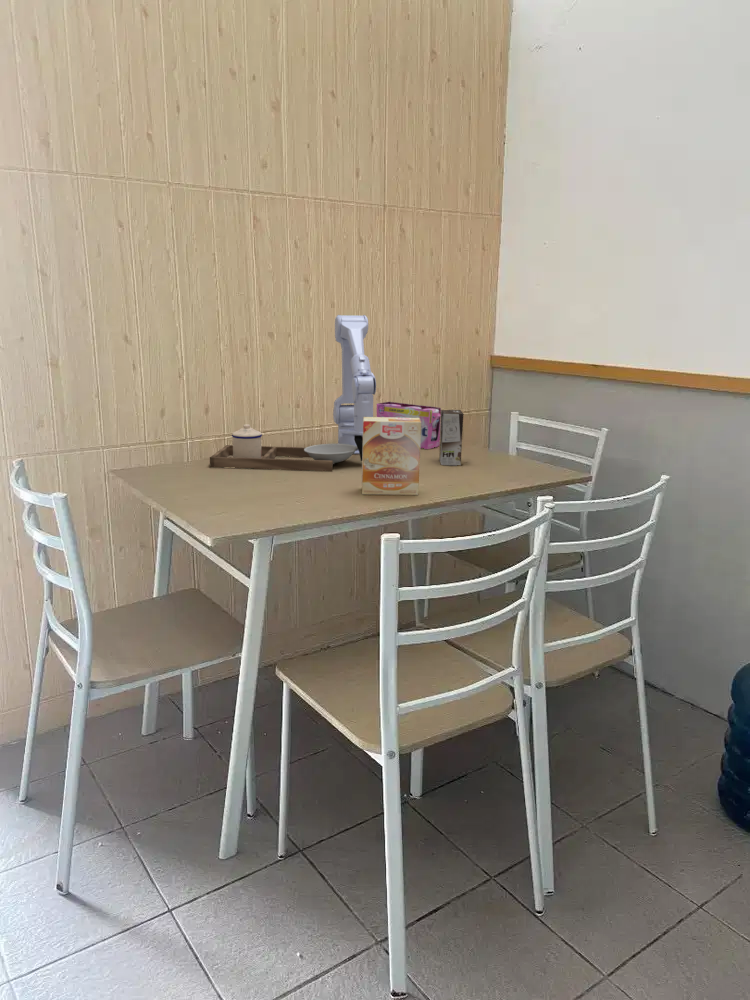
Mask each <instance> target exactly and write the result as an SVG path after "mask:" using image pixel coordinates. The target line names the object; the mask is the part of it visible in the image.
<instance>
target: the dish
mask: <svg viewBox="0 0 750 1000" xmlns="http://www.w3.org/2000/svg"><path fill="white" fill-rule="evenodd" d="M304 448H305V449H304V451H305V452H307V453H308V454H309V455H310V456H311V457H312V458H311V459H312V460H329V461H333V464H334V465H335V464H336V463H337V464H338V463H341V462H344V461H346V460H348V459H349V458H351V457H352V455H354V454H353V453H354V452H355V451H356V450H358V447H357V446H355V445H350V444H338V443H323V444H322V443H321V444H315V445H310V446H309V445H308V446H307V447H304Z"/></svg>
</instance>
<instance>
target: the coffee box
mask: <svg viewBox="0 0 750 1000" xmlns="http://www.w3.org/2000/svg"><path fill="white" fill-rule="evenodd" d="M463 426H464V413H463V411H462V410H461V409H441V417H440V445H439V453H438V454H439V457H438V459H439V463H440V465H441V466H457V465H460V466H461V464H462V463H461V462H462V449H463V445H462V444H463V433H464V432H463V431H464V427H463Z"/></svg>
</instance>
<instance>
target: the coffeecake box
mask: <svg viewBox="0 0 750 1000" xmlns="http://www.w3.org/2000/svg"><path fill="white" fill-rule="evenodd" d="M420 444H421V421H420V419H419V418H394V417H377V416H373V417H363V452H362V461H361V495H379V496H380V495H383V496H385V495H387V496H388V495H390V496H393V495H394V496H419V492H420V491H419V489H420V468H421V466H420V465H421V464H420V463H421V448H420Z"/></svg>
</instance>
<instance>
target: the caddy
mask: <svg viewBox="0 0 750 1000" xmlns="http://www.w3.org/2000/svg"><path fill="white" fill-rule="evenodd" d="M305 448H306V447H304V446H303V447H301V446H300V447H299V446H294V447H293V446H270V445H269V446H265V445H262V458H234V457H233V444H228V445H227V444H226V445H224V446H223V447H222V448H221V449H219V450H218V451H217V452H215V453H214V454H212V455H211V456H210V457H209V468H210V467H235V468H234V469H241V468H254V469H253V470H272V469H281V470H280V471H302V470H315V471H314V472H333V471H332V470H333V469H334V467H333V461H329V460H315V459H298V458H303V457H311V456H310V455H309V454H308V453H307V452H305V451H304V449H305ZM231 456H232V457H231ZM276 456H288V457H287V459H286V458H277V457H276ZM289 456H290V457H289ZM275 457H276V458H275ZM290 458H292V459H290ZM293 458H297V459H293Z"/></svg>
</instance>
